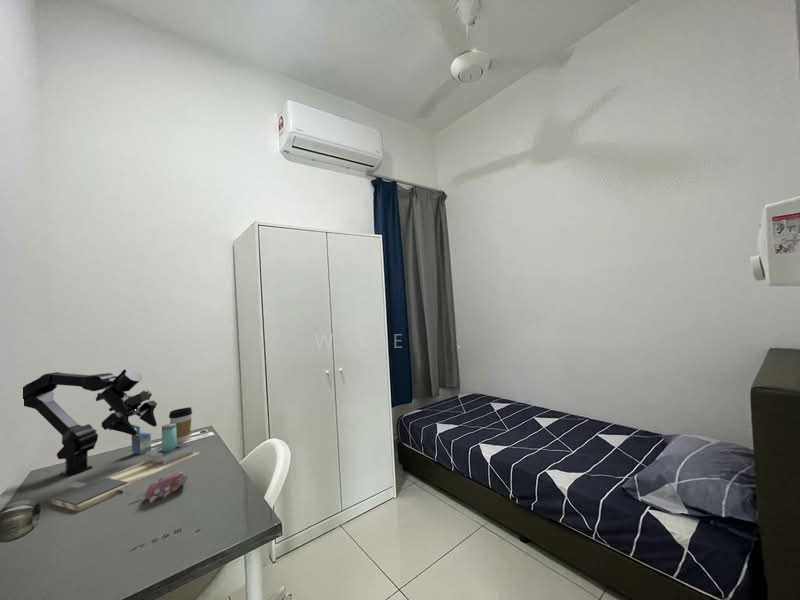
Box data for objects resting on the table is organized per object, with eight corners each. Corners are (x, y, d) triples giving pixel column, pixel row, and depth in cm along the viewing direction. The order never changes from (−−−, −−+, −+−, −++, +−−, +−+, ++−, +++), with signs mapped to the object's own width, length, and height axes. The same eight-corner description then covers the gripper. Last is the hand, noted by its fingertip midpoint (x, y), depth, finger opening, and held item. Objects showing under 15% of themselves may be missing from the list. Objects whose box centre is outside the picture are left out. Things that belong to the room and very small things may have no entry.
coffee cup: (184, 447, 130) (183, 411, 131) (164, 448, 130) (163, 412, 131) (197, 439, 138) (196, 405, 139) (178, 440, 138) (178, 407, 139)
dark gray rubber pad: (54, 499, 90) (54, 497, 90) (105, 478, 101) (105, 477, 101) (76, 505, 86) (76, 503, 86) (127, 483, 97) (127, 481, 97)
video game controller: (147, 508, 87) (150, 489, 86) (142, 497, 90) (145, 477, 88) (187, 491, 95) (190, 473, 94) (182, 481, 98) (185, 463, 96)
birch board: (51, 503, 91) (51, 498, 91) (175, 453, 123) (174, 449, 123) (79, 511, 85) (79, 506, 85) (200, 456, 118) (200, 452, 118)
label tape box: (152, 454, 124) (151, 423, 125) (139, 458, 121) (139, 426, 122) (143, 451, 129) (142, 421, 130) (130, 454, 125) (130, 424, 126)
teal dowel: (159, 459, 114) (158, 426, 115) (172, 454, 118) (171, 423, 119) (167, 460, 113) (166, 427, 113) (179, 455, 117) (178, 423, 118)
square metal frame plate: (144, 462, 112) (144, 454, 113) (175, 450, 122) (175, 442, 123) (163, 465, 108) (163, 457, 109) (193, 452, 119) (193, 444, 119)
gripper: (112, 390, 107) (142, 422, 106) (154, 380, 125) (179, 407, 125) (87, 413, 106) (117, 446, 105) (133, 399, 124) (158, 427, 124)
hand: (146, 430), depth 115 cm, fingers open, 9 cm apart
